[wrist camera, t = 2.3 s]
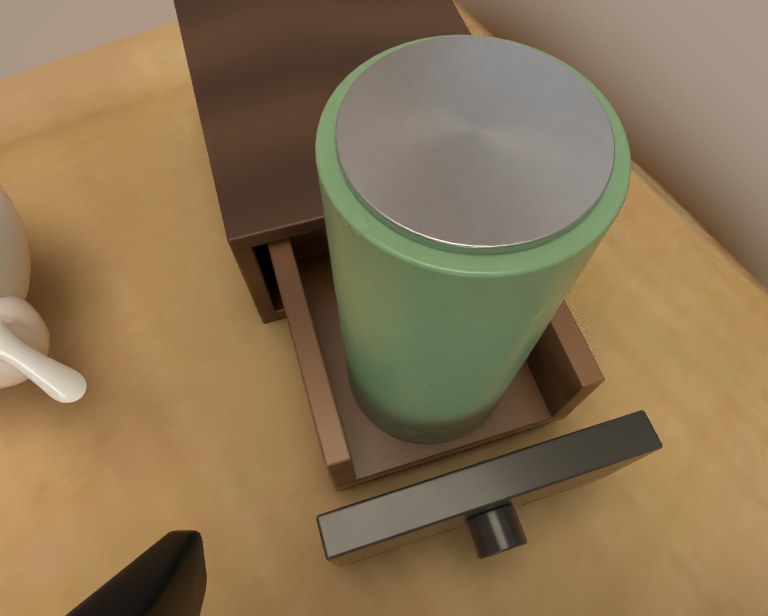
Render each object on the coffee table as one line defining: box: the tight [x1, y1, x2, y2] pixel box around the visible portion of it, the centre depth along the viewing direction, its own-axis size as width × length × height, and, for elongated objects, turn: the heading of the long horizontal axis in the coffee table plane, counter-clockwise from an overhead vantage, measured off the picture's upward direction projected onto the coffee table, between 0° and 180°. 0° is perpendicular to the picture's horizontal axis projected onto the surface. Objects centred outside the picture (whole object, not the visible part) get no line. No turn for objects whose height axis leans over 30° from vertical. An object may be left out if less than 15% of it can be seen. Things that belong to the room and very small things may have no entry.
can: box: [315, 35, 631, 444], centre depth 16 cm, size 6×6×12 cm
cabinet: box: [174, 0, 471, 323], centre depth 25 cm, size 13×11×6 cm
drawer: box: [267, 228, 663, 567], centre depth 20 cm, size 14×10×5 cm
